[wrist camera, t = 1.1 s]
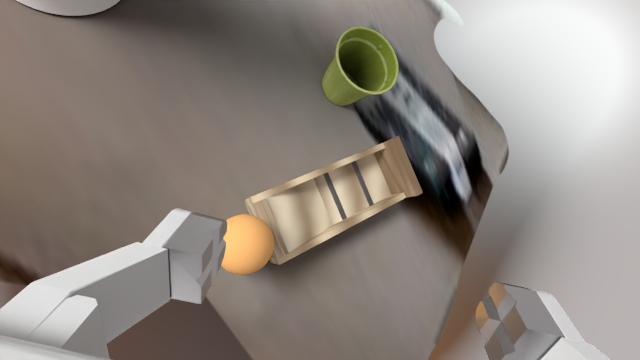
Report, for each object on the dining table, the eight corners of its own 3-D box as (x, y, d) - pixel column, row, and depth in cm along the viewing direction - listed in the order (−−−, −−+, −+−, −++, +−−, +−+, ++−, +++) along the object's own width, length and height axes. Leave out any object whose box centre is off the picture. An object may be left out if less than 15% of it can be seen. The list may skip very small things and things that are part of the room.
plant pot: (354, 127, 49) (387, 107, 41) (301, 96, 46) (326, 67, 38) (372, 80, 52) (406, 53, 44) (324, 48, 49) (351, 12, 41)
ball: (209, 217, 34) (215, 214, 29) (264, 214, 36) (279, 210, 31) (211, 275, 33) (217, 282, 28) (267, 267, 36) (283, 273, 30)
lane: (270, 262, 40) (285, 267, 34) (243, 200, 40) (254, 194, 34) (394, 198, 50) (422, 192, 44) (372, 147, 50) (398, 135, 44)
